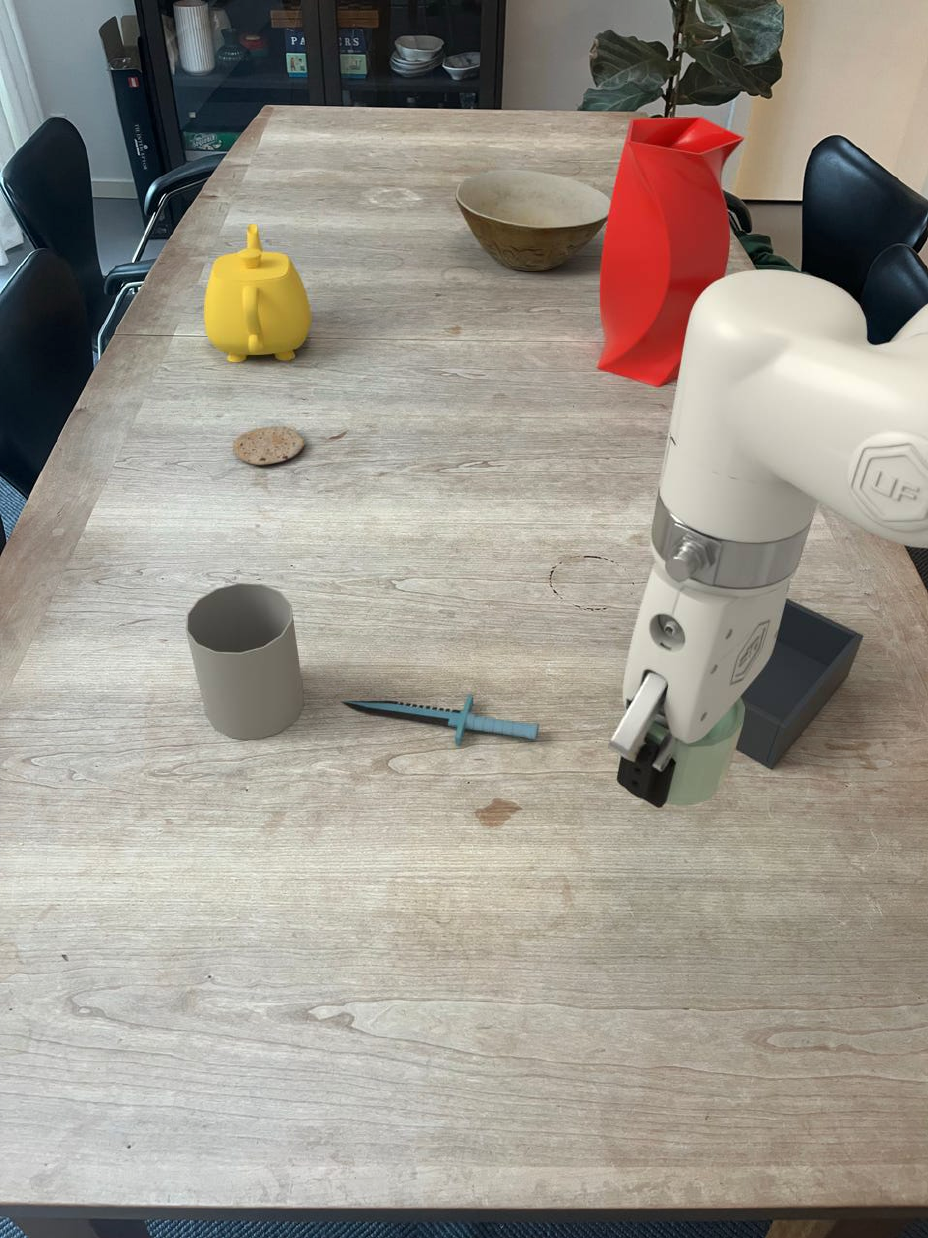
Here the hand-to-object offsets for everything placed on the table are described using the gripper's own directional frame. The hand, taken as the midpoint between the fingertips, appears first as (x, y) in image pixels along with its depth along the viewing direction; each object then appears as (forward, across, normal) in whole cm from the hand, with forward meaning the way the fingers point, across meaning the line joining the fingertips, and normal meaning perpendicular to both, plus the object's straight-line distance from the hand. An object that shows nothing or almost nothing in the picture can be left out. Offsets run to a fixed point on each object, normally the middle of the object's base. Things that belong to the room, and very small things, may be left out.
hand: (673, 754), depth 62 cm
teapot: (+16, +39, +85) cm, 95 cm away
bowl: (+16, +85, +74) cm, 114 cm away
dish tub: (+16, +24, +5) cm, 29 cm away
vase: (+16, +70, +42) cm, 83 cm away
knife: (+16, +3, +22) cm, 28 cm away
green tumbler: (+1, 0, 0) cm, 1 cm away
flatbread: (+16, +22, +64) cm, 69 cm away
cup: (+16, -6, +35) cm, 39 cm away
